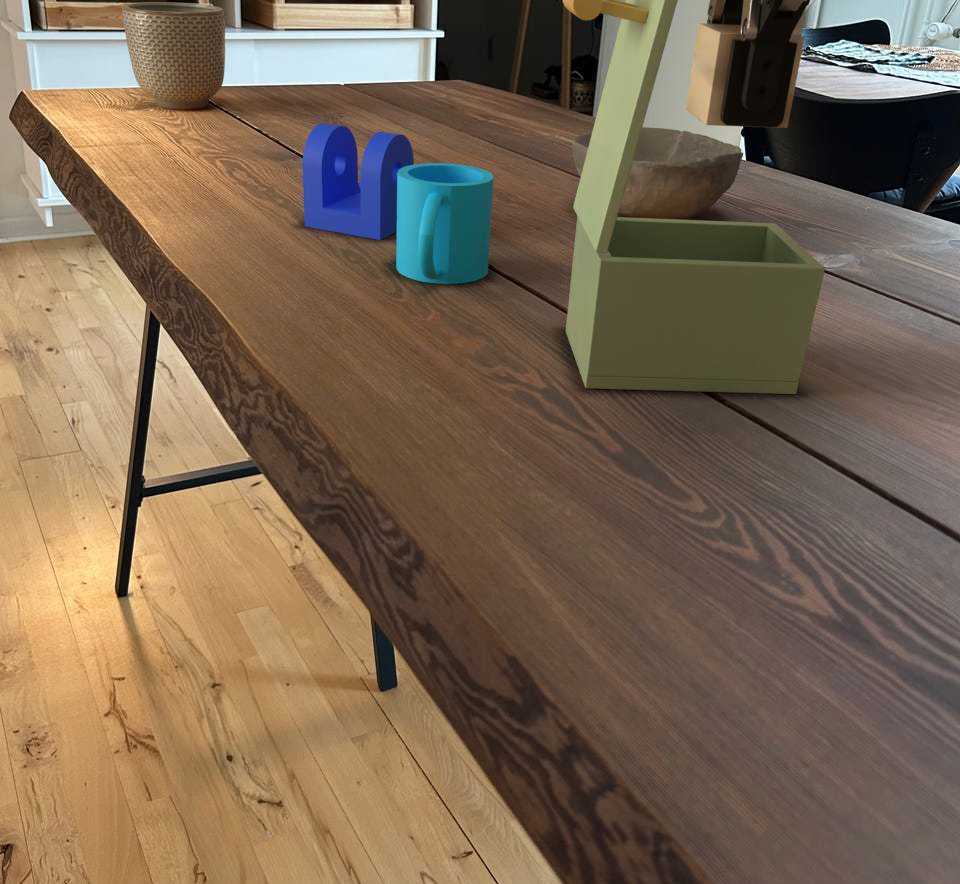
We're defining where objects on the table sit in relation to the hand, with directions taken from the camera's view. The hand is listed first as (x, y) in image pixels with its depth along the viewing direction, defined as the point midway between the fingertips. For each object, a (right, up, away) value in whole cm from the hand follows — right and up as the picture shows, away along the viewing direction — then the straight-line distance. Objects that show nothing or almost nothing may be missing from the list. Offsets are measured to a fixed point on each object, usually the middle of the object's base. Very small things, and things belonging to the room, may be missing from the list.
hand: (736, 112), depth 56 cm
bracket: (-24, +10, +51) cm, 57 cm away
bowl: (+4, +11, +55) cm, 56 cm away
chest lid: (-4, +4, +10) cm, 12 cm away
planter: (-58, +39, +95) cm, 118 cm away
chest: (0, -10, +20) cm, 22 cm away
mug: (-18, -1, +34) cm, 38 cm away
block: (0, 0, 0) cm, 0 cm away
